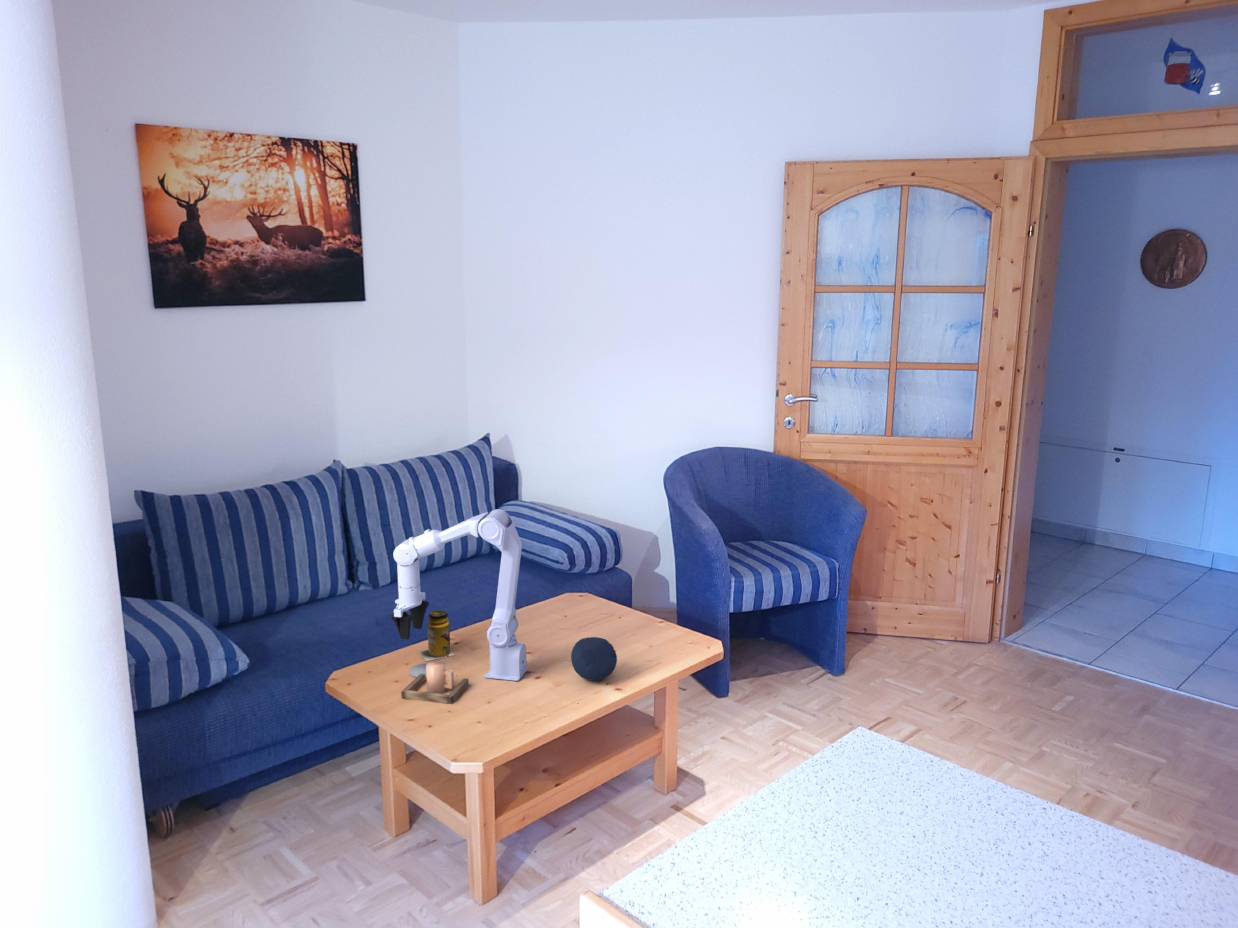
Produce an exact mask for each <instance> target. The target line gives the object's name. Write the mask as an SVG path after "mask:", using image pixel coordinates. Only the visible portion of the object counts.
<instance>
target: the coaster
mask: <svg viewBox="0 0 1238 928" xmlns="http://www.w3.org/2000/svg"><path fill="white" fill-rule="evenodd" d="M427 664H428V663H420V664H417V665H414V666H412V667H411V668H410V669H409V670H408V672H409V676H411V677H412V676H413V677H412V678H414V679H415V678H416V677H418V676H419V675H420V674H425V679H427V675H426V665H427Z"/></svg>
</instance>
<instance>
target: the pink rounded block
mask: <svg viewBox="0 0 1238 928" xmlns="http://www.w3.org/2000/svg"><path fill="white" fill-rule="evenodd" d="M426 664H427V665H426V675H427V678H426V692H429V693H438V694H445V693H446V692H447V689H450V690H451V689H452V690H453V689H454V688H455V680H454V679H455V676H454V670H453V669H446V663H445V662H443V661H440V660H439V661H437V660H436V661H431V662H430V661H429V662H428V663H426ZM446 675H447V676H446Z"/></svg>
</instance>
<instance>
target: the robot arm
mask: <svg viewBox="0 0 1238 928" xmlns="http://www.w3.org/2000/svg"><path fill="white" fill-rule="evenodd" d="M468 535H472V536H473V537H475V538H479V537H481V538H482V540H485V542H487V543H489V544H491V545H493V546H495V547H496V548H497V549H498V550H499V551H500V552H501V557H500V565H499V574H498V582H497V583H498V584H497V593H496V601H495V609H494V611H493V615H492V619H491V625H490V626H489V627H488V629H487V631H486V638H487V640H488V642H489V644H488V645H489V670H488V672H486V674H485V675H484V678H486V679H487V678H488V679H494V680H504V681H514V682H519V681H520V679H521V678H522V677H523V676H524V674H526V672H527V671H528V669H529V668H528V666H527V663H528V661H527V658H528V656H527V655H528V653H527V646H526V644H525V643H522V642H519V641H518V638H517V637H516V635H515V633H516V632H517V630H518V628H519V621H518V618H517V609H516V607H515V605H516V599H517V591H518V590H517V589H518V582H519V574H520V566H521V565H520V564H521V557H522V556H521V555H522V549H523V543H522V540H521V538H520V535H519V533H518V531H517V529H516V526H515V520H514V518H513V517H512V516H511V515H510V514H508V513H507V511H505V510H503V509H493V510H492V511H490V512H487V511H486V512H483V513H480V514H478V515H475V516H472V517H470V518H468V519H466V520H464V521H461V522H458V523H457V524H455V525H453V526H450V527H448V528H446V529H444V530H438V529H430V528H428V529H426V530H424V532H423V533H422V534H420V535H418V536H415V537H414V536H411V537H409V538H408V539H405V540H404V541H402V542H401V543H400V544H399V545H397V546H396V547H395V549H394V550H393V556H392V557H393V560H394V561H395V562H396V566H397V567H396V568H397V570H396V571H397V589H398V590H397V591H398V598H397V599H395V600H394V603H395V604H396V607H395V608H394V609H393V613H392V614H390V615H391V616H390V619H391V620H392V621H393V622H394V624H395V626H396V628H397V632H398V633H399V637H400V639H401V640H409V639H410V636H411V634H410V633H411V624H412V627H413V629H414V630H416V629H417V630H421V629H422V627H423V623H424V618H425V615H426V611H427V609H428V607H429V605H430V603H429V602H430V601H426V592H424V591H423V592H422V591H421V576H420V575H421V574H420V561H419V560H420V559H423V558H426V557H428V556H430V555H432V554H434V553H437V552H440V551H442V550H443V549H444V548H445V544H446V543H449V542H452V541H454V540H457V539H461V538H463V537H466V536H468ZM408 611H409V612H410V614H408V613H407V612H408Z"/></svg>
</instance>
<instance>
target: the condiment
mask: <svg viewBox="0 0 1238 928" xmlns="http://www.w3.org/2000/svg"><path fill="white" fill-rule="evenodd" d="M450 627H451V626H450V621H449V615H448V612H447V611H445V610H433V611H431V612H430V613H429V614H428V623H427V642H428V643H427V647H428V649H425V650H420V651H417V654H418V655H420V656H421V658H422V659H424V660H425V661H426V662H430V661H433V660H438V659H445V658H448V657H447V656H449V657H453V656H455V655H456V654H455V653H454V652H453V651H452V650H451V636H450V635H451V633H450ZM449 654H451V655H449ZM452 654H453V655H452ZM431 657H432V658H431ZM441 657H442V658H441ZM436 658H437V659H436Z"/></svg>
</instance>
